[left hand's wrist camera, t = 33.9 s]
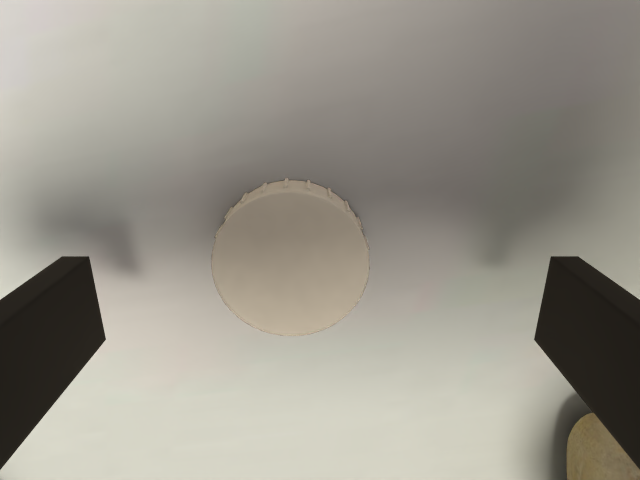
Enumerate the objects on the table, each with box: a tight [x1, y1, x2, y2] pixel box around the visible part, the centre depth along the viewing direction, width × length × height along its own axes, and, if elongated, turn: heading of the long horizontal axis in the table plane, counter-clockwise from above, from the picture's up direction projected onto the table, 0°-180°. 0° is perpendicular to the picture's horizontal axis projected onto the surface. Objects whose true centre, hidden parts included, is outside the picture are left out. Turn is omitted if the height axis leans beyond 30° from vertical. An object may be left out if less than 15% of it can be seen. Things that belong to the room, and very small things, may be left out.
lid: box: [211, 178, 370, 336], centre depth 15 cm, size 5×5×2 cm
